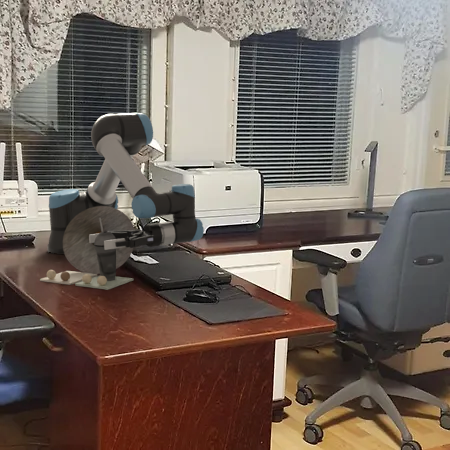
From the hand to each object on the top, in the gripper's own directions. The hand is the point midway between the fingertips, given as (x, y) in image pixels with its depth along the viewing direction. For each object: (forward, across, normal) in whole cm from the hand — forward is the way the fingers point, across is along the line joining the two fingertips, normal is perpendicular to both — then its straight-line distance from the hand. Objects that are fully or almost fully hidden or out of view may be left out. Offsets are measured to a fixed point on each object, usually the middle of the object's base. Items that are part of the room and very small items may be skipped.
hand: (96, 242), depth 233 cm
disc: (-9, +20, -14) cm, 26 cm away
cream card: (+6, +12, -13) cm, 19 cm away
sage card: (-1, -1, -13) cm, 13 cm away
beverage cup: (-3, 0, -13) cm, 13 cm away
